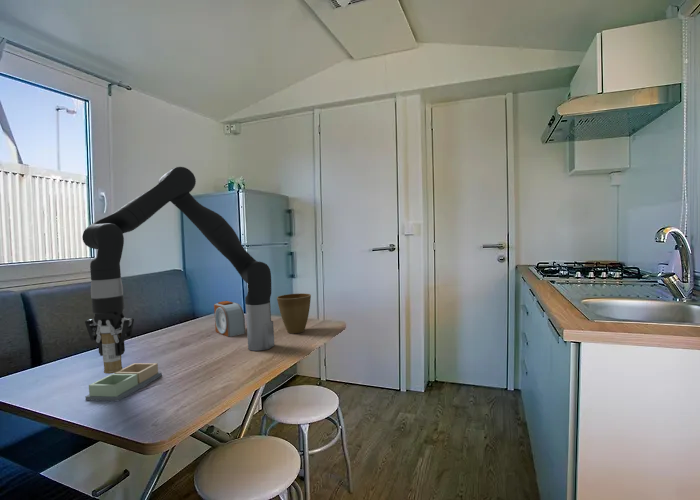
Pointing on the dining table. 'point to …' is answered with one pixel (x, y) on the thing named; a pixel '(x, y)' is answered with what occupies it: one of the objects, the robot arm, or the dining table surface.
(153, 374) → the socket board
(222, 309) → the alarm clock
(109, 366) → the sprinkles bottle
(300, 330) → the plant pot
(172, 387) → the dining table surface
